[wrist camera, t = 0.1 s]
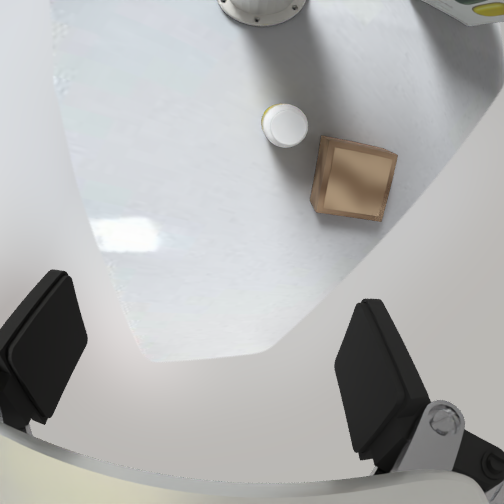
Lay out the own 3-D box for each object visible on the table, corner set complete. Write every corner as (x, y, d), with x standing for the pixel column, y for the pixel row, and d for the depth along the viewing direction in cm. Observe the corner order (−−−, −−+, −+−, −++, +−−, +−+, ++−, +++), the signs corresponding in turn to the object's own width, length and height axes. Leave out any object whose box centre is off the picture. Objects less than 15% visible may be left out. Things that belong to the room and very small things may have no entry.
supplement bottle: (307, 124, 40) (322, 132, 32) (278, 148, 42) (285, 161, 33) (282, 95, 38) (291, 94, 30) (252, 119, 40) (253, 125, 31)
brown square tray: (321, 135, 41) (330, 140, 36) (383, 148, 41) (398, 155, 37) (309, 200, 46) (316, 213, 41) (369, 209, 46) (381, 222, 42)
